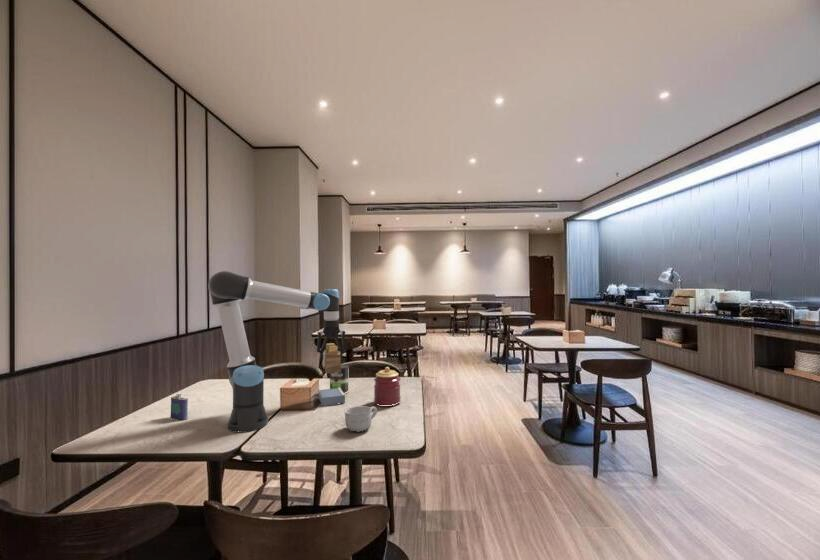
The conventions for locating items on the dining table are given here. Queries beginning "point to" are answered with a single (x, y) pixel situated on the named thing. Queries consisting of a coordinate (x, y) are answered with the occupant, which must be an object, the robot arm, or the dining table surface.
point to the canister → (387, 387)
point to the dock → (331, 396)
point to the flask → (179, 408)
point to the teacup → (359, 417)
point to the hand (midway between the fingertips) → (331, 365)
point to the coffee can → (340, 379)
